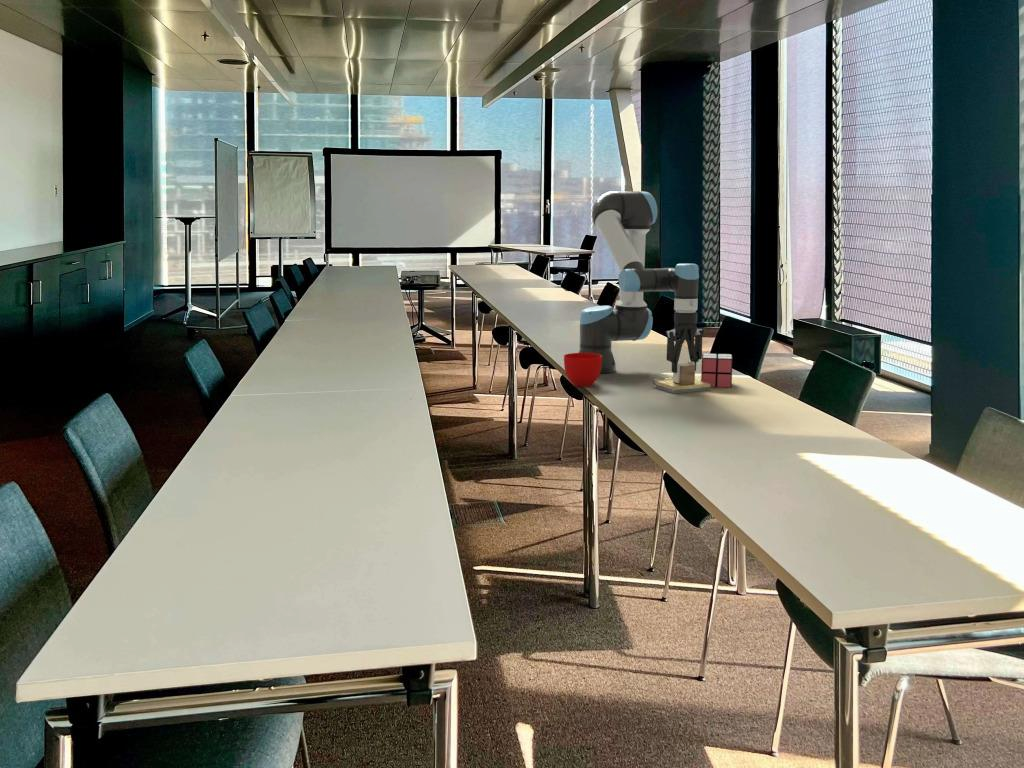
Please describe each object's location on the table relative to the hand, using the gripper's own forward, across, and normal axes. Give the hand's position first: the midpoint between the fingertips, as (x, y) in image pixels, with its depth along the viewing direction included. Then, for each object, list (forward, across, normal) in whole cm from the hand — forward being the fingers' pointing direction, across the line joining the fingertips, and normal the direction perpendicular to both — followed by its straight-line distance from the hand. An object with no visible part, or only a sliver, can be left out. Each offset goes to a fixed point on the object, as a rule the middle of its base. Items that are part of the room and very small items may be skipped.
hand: (683, 381), depth 317 cm
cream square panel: (+2, 0, +2) cm, 2 cm away
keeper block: (0, 0, 0) cm, 0 cm away
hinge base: (+3, 0, +2) cm, 3 cm away
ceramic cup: (+3, -25, +22) cm, 34 cm away
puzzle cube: (+3, +15, +2) cm, 15 cm away
